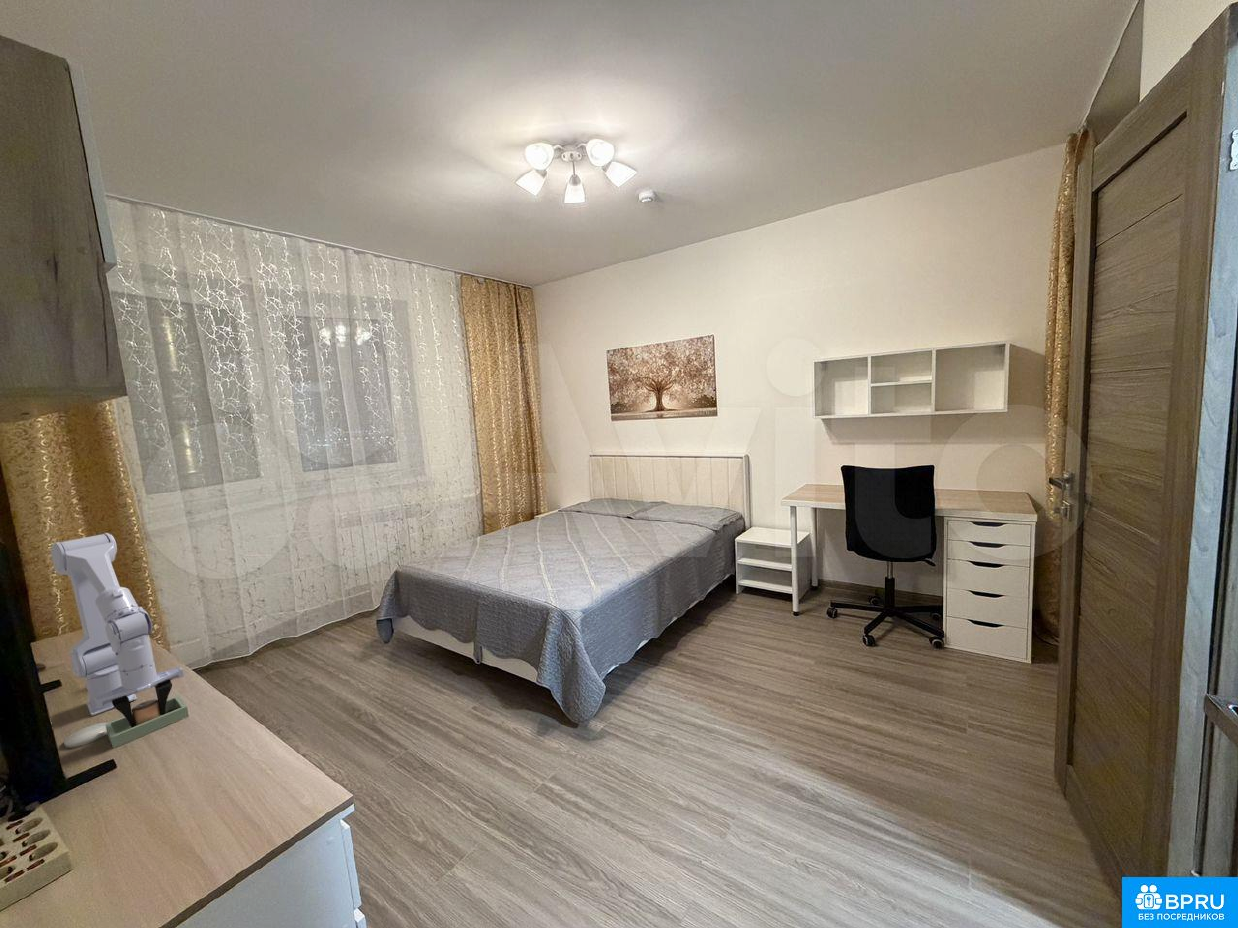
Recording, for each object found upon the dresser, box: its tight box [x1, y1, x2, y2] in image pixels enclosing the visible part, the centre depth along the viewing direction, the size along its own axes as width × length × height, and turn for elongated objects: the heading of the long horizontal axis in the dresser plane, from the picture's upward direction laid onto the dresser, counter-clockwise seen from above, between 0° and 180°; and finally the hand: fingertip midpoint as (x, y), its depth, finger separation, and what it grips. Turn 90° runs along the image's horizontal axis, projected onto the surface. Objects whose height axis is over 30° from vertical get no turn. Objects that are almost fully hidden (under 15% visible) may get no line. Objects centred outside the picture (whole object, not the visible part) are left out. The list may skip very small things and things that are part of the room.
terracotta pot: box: [131, 699, 161, 726], centre depth 111 cm, size 4×4×5 cm
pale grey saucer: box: [63, 722, 108, 749], centre depth 109 cm, size 7×7×1 cm
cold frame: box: [105, 695, 190, 749], centre depth 111 cm, size 9×13×2 cm
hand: (147, 719), depth 111 cm, fingers closed on terracotta pot, 4 cm apart
